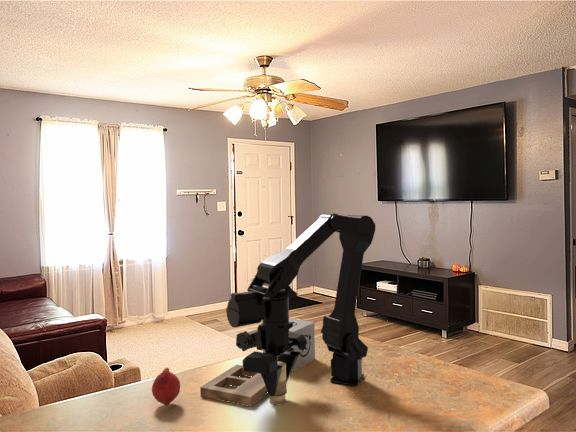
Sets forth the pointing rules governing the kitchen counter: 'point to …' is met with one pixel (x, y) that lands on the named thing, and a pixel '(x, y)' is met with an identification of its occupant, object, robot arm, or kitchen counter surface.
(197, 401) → the kitchen counter surface
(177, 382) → the onion
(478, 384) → the kitchen counter surface
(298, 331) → the icon cube
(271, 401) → the peg
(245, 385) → the board
